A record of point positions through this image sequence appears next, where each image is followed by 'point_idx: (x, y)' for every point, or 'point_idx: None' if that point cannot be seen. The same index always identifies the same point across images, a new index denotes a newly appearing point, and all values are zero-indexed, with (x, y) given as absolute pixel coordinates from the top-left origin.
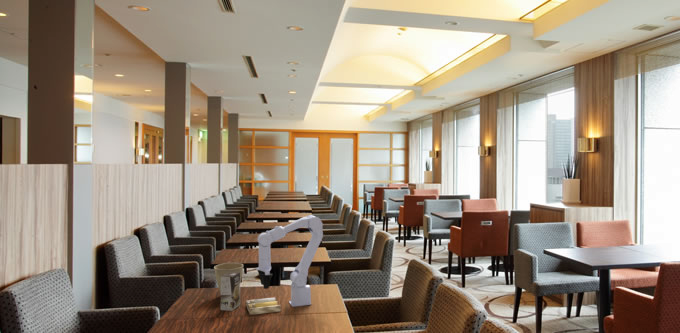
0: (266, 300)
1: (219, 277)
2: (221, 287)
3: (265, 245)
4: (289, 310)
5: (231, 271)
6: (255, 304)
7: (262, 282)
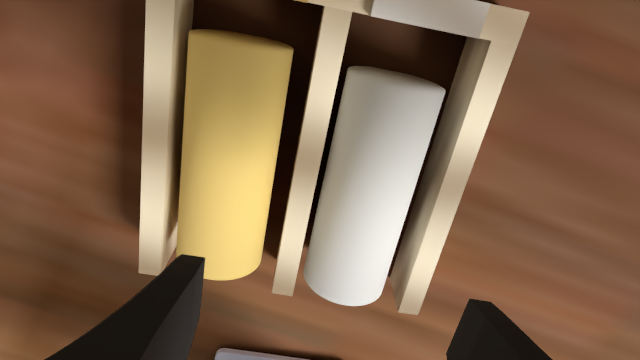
0: (335, 211)
1: None
2: None
3: None
4: None
5: None
6: (252, 48)
7: (477, 342)
